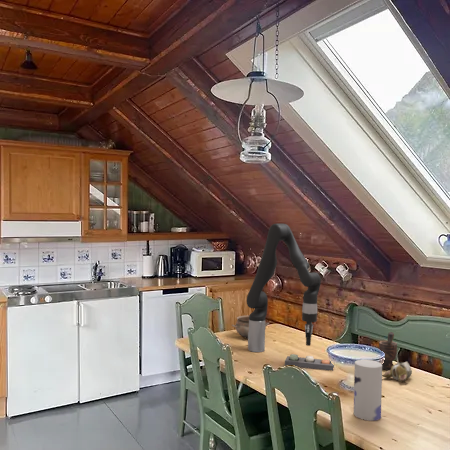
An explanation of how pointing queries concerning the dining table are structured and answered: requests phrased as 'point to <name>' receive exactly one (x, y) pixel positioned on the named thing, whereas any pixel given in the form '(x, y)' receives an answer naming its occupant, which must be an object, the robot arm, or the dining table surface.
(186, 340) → the dining table surface
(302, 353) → the dining table surface
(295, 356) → the sage button
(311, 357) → the cream button
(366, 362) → the container
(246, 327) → the cooking pot
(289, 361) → the control strip
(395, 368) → the ceramic sculpture
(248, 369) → the dining table surface
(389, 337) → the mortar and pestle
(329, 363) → the terracotta button
